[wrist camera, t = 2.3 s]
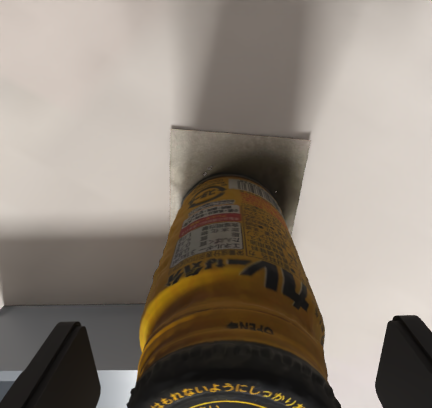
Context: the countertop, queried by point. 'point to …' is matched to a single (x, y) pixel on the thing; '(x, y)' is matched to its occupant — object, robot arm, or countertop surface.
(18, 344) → the open bin
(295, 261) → the condiment
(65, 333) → the robot arm
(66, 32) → the countertop surface
